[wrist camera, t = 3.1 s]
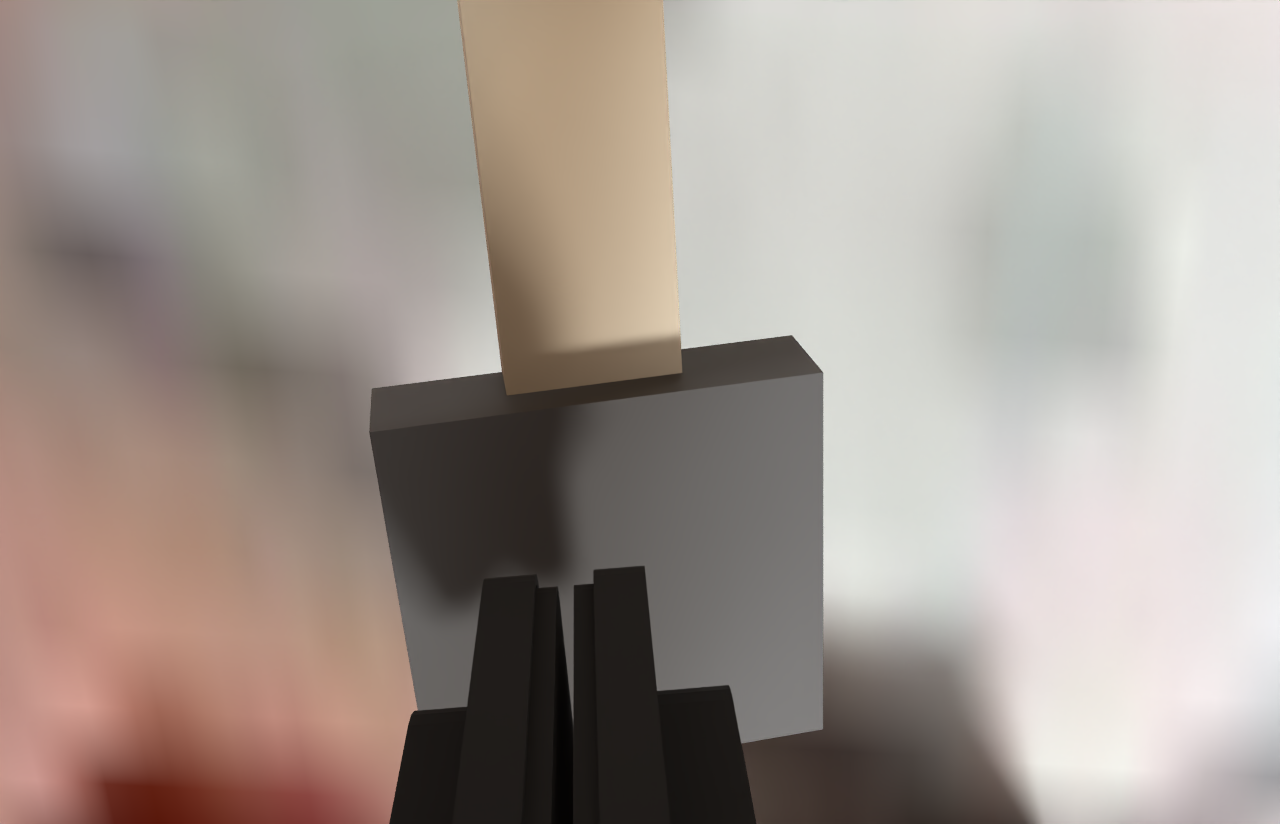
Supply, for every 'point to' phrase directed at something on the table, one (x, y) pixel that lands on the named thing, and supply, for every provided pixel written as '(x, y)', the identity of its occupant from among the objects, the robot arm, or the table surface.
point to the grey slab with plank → (604, 395)
